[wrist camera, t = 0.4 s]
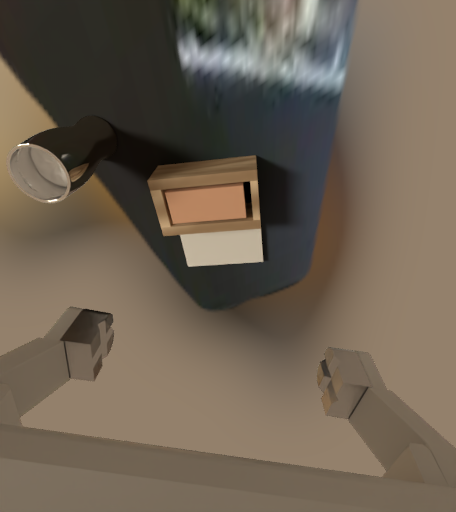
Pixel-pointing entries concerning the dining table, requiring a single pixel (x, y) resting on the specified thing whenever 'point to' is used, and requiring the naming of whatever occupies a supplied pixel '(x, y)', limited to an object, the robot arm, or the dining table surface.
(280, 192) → the dining table surface
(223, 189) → the tile
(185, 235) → the mat
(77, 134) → the beer glass
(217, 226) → the pocket block
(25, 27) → the dining table surface
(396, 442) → the robot arm
